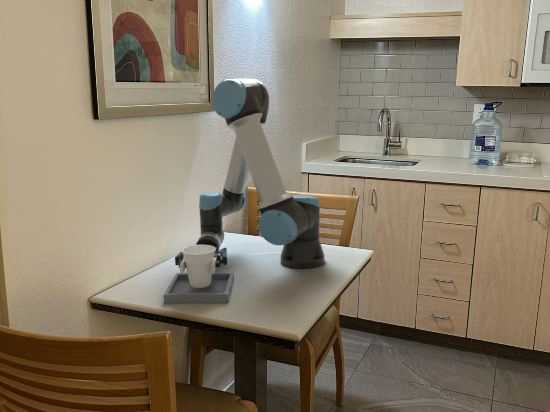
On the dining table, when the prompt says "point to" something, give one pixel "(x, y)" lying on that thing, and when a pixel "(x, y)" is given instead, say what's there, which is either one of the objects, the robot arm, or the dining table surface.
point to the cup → (199, 264)
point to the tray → (199, 290)
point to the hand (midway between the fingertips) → (196, 269)
